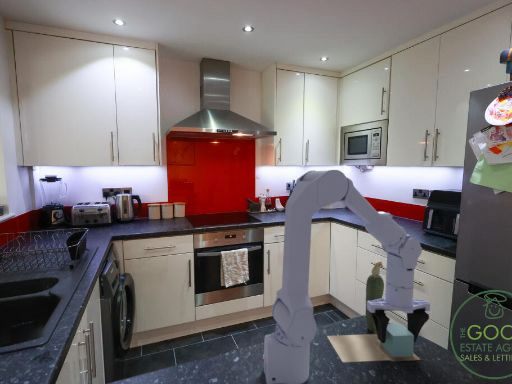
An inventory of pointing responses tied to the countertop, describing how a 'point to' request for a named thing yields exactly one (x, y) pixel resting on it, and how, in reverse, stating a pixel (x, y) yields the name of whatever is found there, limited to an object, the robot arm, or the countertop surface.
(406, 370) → the countertop surface
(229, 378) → the countertop surface
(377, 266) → the vegetable
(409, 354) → the teal block
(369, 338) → the maple board
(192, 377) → the countertop surface
